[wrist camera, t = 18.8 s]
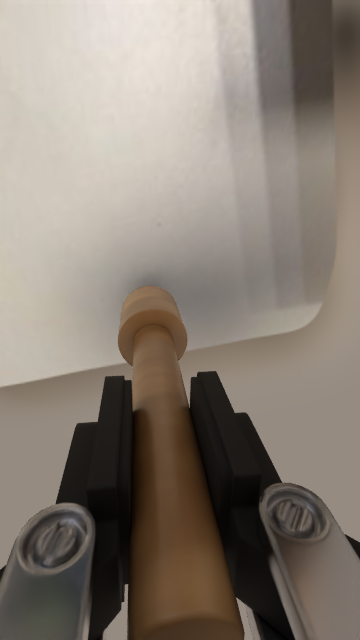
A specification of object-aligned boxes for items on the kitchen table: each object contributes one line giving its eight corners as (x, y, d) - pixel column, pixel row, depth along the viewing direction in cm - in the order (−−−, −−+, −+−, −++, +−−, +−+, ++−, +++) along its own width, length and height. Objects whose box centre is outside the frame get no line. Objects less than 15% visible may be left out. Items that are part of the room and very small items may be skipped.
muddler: (178, 285, 18) (306, 570, 4) (176, 337, 20) (276, 692, 6) (120, 285, 18) (65, 601, 4) (122, 338, 19) (86, 724, 5)
